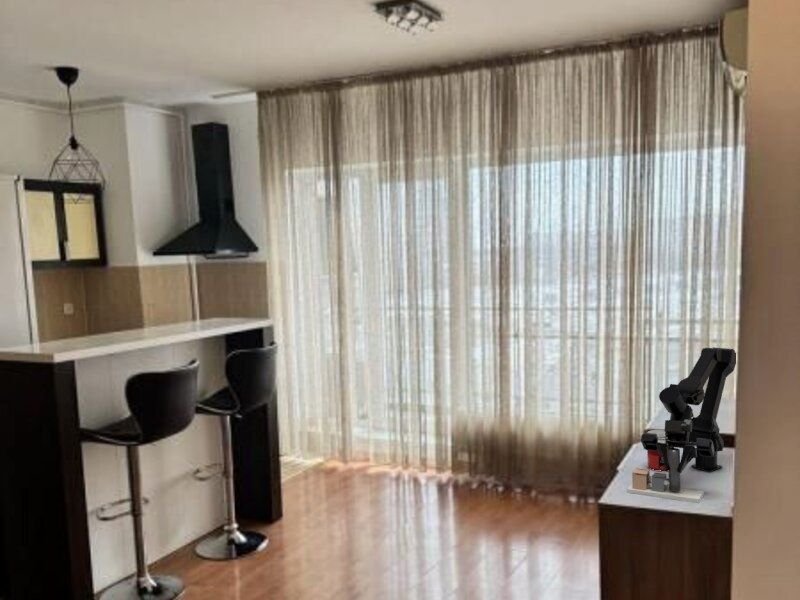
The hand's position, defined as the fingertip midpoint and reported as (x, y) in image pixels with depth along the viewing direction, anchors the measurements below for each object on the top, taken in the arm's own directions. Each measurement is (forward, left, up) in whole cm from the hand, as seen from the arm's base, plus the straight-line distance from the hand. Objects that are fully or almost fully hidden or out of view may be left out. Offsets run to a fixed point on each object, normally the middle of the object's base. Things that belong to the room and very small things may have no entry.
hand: (673, 471), depth 194 cm
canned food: (-18, -18, -7) cm, 26 cm away
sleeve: (0, -4, -6) cm, 7 cm away
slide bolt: (0, -4, -6) cm, 7 cm away
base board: (0, -3, -7) cm, 8 cm away
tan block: (+3, -9, -6) cm, 11 cm away
